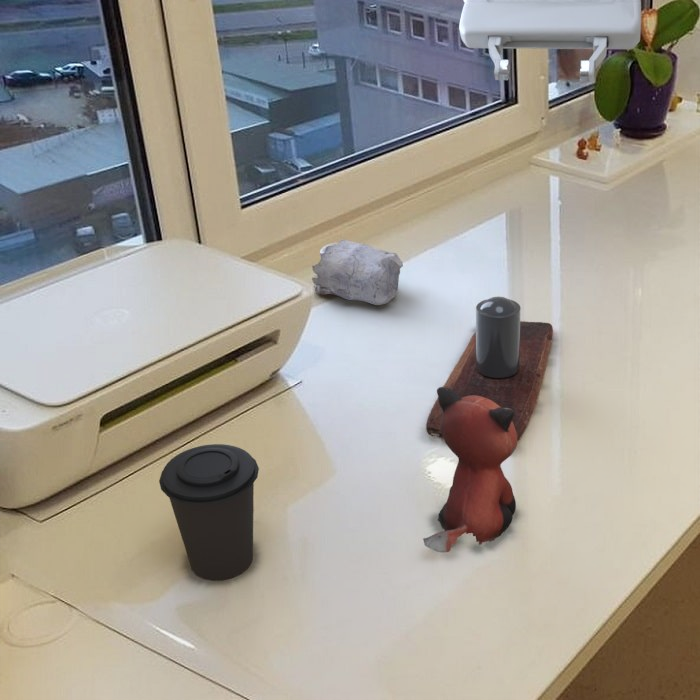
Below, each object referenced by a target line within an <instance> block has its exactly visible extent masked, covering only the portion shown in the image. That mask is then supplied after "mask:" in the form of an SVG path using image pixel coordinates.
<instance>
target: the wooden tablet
mask: <svg viewBox="0 0 700 700" xmlns="http://www.w3.org/2000/svg"><path fill="white" fill-rule="evenodd" d="M553 336H554V327H553V325H552V323H550V322H543V321H521V320H520V368H519V371H518V372H517V373H516V374H514V375H512V376H510V377H506V378H491V377H486V376H484V375H482V374H480V373H479V372H478V371H477V369H476V331H475V332H474V333H473V334H472V336H471V337H470V340H469V341H468V343H467V345H466V347H465V349H464V351H463V352H462V354H461V356H460V357H459V359H458V361H457V363H456V364H455V366H454V367H453V369H452V371H451V373H450V374H449V376H448V378H447V380H446V381H445V383H444V385H443V387H448V388H450V389H452V390H454V391H455V392H456V393H457V394H458V395H459V396H460V397H462V398H463V397H466V396H472V395H476V396H481V397H484V398H487V399H489V400H491V401H493V402H494V403H496V404H497V405H499V406H500V407H501V408H509V409H512V410H514V411H515V414H514V417H513V419H512V422H513V424H514V427H515V430H516V434H517V443H518V442H520V440H521V439H522V437H523V435H524V433H525V432H526V429H527V428H528V426H529V424H530V421H531V419H532V416H533V415H534V413H535V409H536V406H537V403H538V399H539V396H540V394H541V393H540V392H541V390H542V386H543V381H544V377H545V374H546V370H547V366H548V362H549V357H550V352H551V349H552V345H553ZM442 417H443V410H442V408H441V407H440V405H439V400H438V397H437V398H436V400H435V402H434V404H433V406H432V408H431V409H430V412H429V414H428V417H427V420H426V424H425V429H426V434H427V435H429V436H431V437H434V438H439V439H444V438H443V436H442V434H441V431H440V425H441V421H442Z"/></svg>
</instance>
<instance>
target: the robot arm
mask: <svg viewBox="0 0 700 700" xmlns="http://www.w3.org/2000/svg"><path fill="white" fill-rule="evenodd" d="M458 25H459V29H458V30H459V35H460V38H461V41H462V43H463V45H465V47H466V48H468V49H488V54H489V57H490V59H491V61H492V62H493V64H494V70H493V71H494V72H493V73H494V80H495V81H509V78H510V71H511V66H510V65H511V64H510V60H509V59H502V57H501V56H502V54H503V49H515V50H516V49H517V50H518V49H521V50H523V49H524V50H525V49H527V50H528V49H532V50H536V49H537V50H539V49H540V50H593V53H592V55H591V56H590V57H589V59H587V60H583V59H582V60H580V69H579V82H588V83H589V82H590V83H591V82H594V80H595V70H596V69H597V68H598V67H599V66H600V65H601V63H602V62H603V61H604V59H605V58H606V57H607V50H632V49H634V48H635V47H636V46H637V45H638V44H639V43H640V41H641V32H642V31H641V30H642V4H641V0H463V7H462V10H461V14H460V19H459V24H458Z"/></svg>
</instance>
